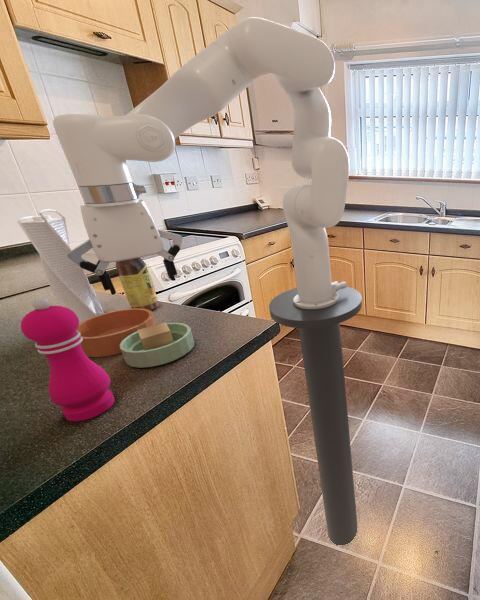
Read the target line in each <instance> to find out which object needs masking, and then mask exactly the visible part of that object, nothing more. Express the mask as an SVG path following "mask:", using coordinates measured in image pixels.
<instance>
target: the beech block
mask: <svg viewBox="0 0 480 600" xmlns="http://www.w3.org/2000/svg"><path fill="white" fill-rule="evenodd" d="M166 323H167V322H162V323H159V324H156V325H154V326H150V327H147V328H143V329H139V330H137V331H138V334H139V336H140V339H141V342H142V345H143V347H144V350H151V349H156V348H159V347H163V346H166V345H168V344H171V343H173V342H174V341H173V338H172V335H171V332H170V330H169V328H168V326H167V324H166Z"/></svg>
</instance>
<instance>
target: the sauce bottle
mask: <svg viewBox="0 0 480 600" xmlns="http://www.w3.org/2000/svg"><path fill="white" fill-rule="evenodd" d="M115 268H116V271H117V274H118V277H119V280H120V284H121V285H122V288H123V291H124V294H125V295H126V299H127V302H128V304H129V306H130V309H133V308H141V309H147V310H150V311H151V312H152V311H153V310H156V308H158V307H159V301H158V300H159V299H158V296H157V293H156V290H155V287H154V284H153V281H152V278H151V275H150V272H149V269H148V266H147V264H146V262H145V261H144V260H143V259H142V257H140V258H134V259H129V260H123V261H118V262H115Z"/></svg>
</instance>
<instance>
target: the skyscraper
mask: <svg viewBox="0 0 480 600" xmlns="http://www.w3.org/2000/svg"><path fill="white" fill-rule="evenodd" d="M48 212H51V213H55V214H56V215H57V214H58V215H59V216H60V217H51V215H50V214H43V213H48ZM38 214H39V215H30V216H29V215H28V216H23V217H21V218H18V219H17V224H18V225H19V226H20V228H21V229H22V231H23V233H24V235H26V238H28V240H29V241H30V243H31V244H32V246H33V247H34V248H35V250H36V252H37V253H38V254H39V259H40V264H41V267H42V269H43V273H44V275H45V278H46V280H47V282H48V284H49V287H50V289H51V291H52V292H53V294H54V297H55V298H56V300H57V302H58V304H59V306H62V307H66V308H69V309H71V310H72V311H73V312H74V313H75V314H76V315H77V317H78V319H79V323H81V322H83V321H85V320H87V319H89V318H92V317H94V316H98V315H101V314H104V313H106V312H105V311H104V310H103V307H102V304H101V301H100V299H98V297H97V294H96V291H95V288H94V286H93V284H92V283H90V281H89V279H88V275H87V274H86V272H85V269H83V268H81V267H80V266H79V265H77V264H76V263H75V262H73V261H72V260H71V259H69V258H68V257H67V253H68V252H70V251H72V250H73V249H71V247H70V239H69V232H68V228H67V222H66V218H65V216H63V214H62V213H60V212H59V211H58V210H55V209H52V208H47V209H45V208H44V209H40V211H38Z"/></svg>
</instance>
